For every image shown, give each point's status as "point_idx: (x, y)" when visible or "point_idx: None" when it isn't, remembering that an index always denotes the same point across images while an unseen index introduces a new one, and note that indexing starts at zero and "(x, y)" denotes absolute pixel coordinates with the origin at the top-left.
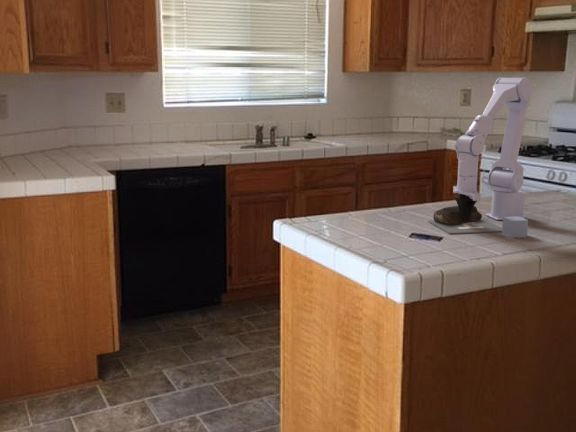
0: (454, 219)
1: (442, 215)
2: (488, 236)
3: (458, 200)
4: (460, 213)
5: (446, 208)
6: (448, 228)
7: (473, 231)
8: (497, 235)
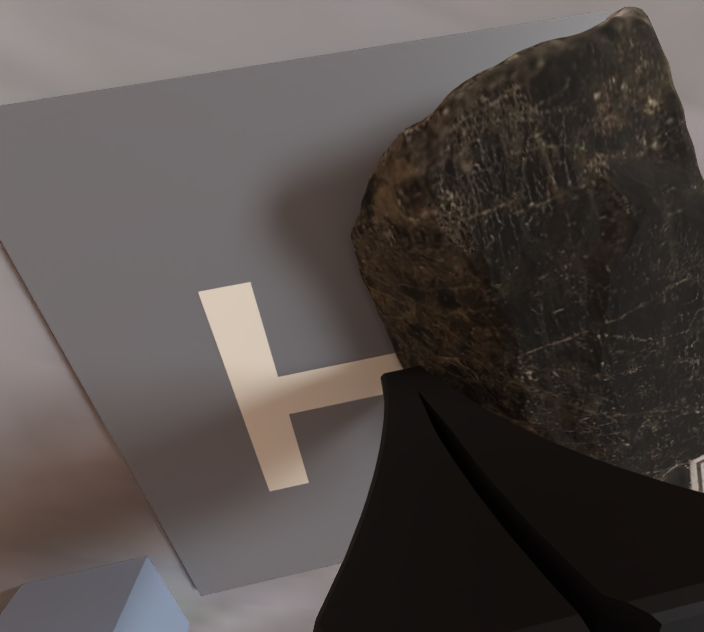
0: (408, 298)
1: (421, 120)
2: (8, 471)
3: (551, 553)
4: (430, 395)
5: (643, 245)
6: (194, 171)
7: (103, 393)
8: (71, 527)
